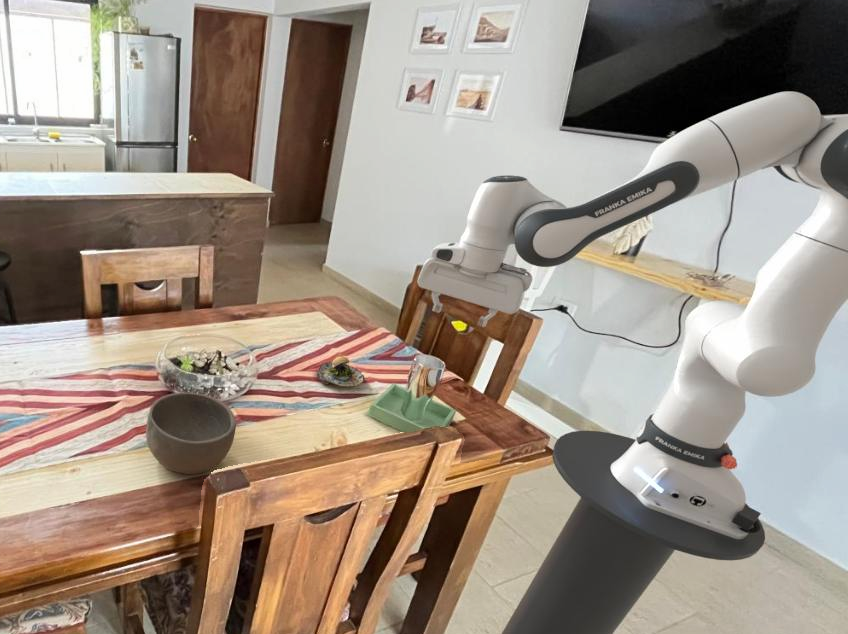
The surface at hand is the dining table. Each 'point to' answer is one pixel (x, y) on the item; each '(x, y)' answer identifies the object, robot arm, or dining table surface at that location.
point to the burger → (340, 373)
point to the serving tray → (388, 413)
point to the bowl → (190, 432)
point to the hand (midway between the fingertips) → (458, 318)
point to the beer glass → (421, 387)
